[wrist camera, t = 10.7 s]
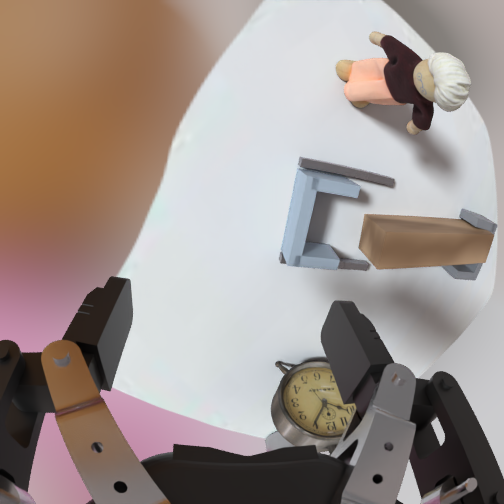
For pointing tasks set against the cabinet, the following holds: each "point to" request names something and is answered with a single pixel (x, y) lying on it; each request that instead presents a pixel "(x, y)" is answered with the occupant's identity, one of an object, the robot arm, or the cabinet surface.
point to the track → (348, 172)
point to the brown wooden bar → (422, 241)
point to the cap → (300, 217)
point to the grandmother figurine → (406, 81)
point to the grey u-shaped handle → (473, 269)
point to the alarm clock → (310, 406)
